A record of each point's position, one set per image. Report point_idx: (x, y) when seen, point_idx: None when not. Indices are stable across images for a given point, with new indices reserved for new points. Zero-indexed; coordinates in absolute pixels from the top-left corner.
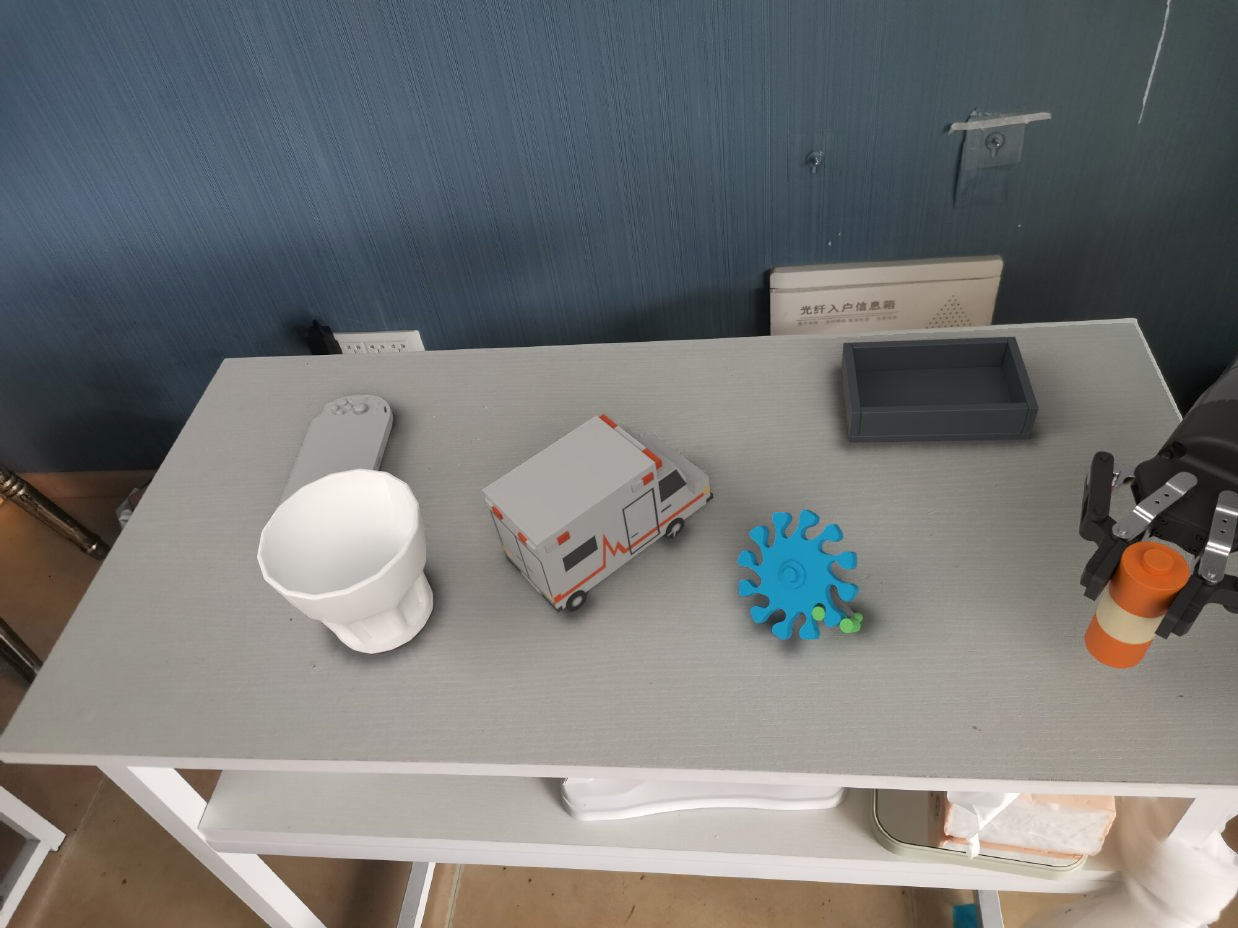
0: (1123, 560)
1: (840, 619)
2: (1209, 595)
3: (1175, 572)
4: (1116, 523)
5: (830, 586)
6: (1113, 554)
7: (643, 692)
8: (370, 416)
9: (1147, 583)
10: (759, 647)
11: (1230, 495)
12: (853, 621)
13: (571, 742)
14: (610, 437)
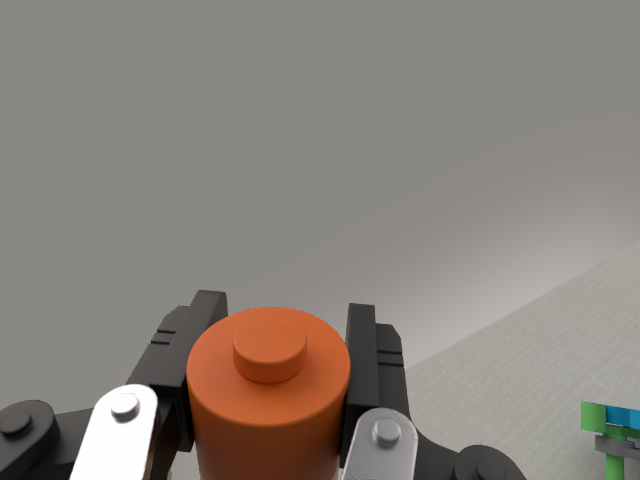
0: (340, 337)
1: (607, 406)
2: (132, 377)
3: (221, 355)
4: (415, 450)
5: None
6: (366, 358)
7: (627, 318)
8: None
9: (273, 312)
10: (629, 404)
11: None
12: (594, 408)
13: (605, 274)
14: None
